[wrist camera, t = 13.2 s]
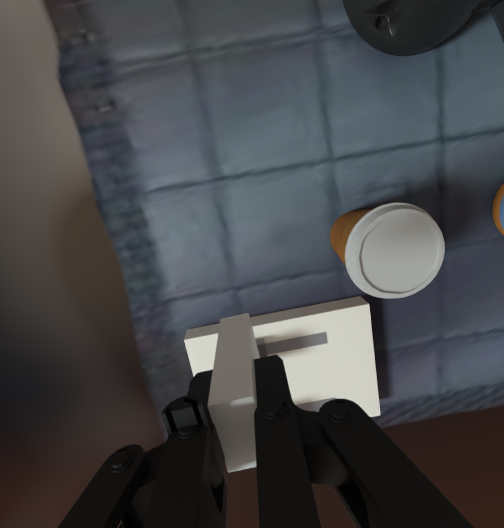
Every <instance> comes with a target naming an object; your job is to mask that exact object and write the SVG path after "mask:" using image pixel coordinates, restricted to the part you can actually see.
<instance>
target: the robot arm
mask: <svg viewBox="0 0 504 528" xmlns="http://www.w3.org/2000/svg"><path fill="white" fill-rule="evenodd" d="M480 1H481V0H343V3H344V6H345V10H346V13H347V15H348V17H349V20H350V22H351V24H352V25H353V27H354V28H355V30H356V31H357V33H358V34H359V35H360V36H361V37H362V38H363V39H364V40H365V41H366V42H367V43H368V44H369V45H371V46H372V47H374V48H375V49H377V50H379V51H381V52H384V53H387V54H391V55H397V56H410V55H415V54H419V53H422V52H425V51H427V50H430V49H432V48H433V47H435V46H437V45H438V44H440V43H441V42H443V41H444V40H445V39H447V38H448V37H450V36H451V35H453V34H454V33H455V32H456V31H457V30H458V29H459V28H460V27H462V26H463V24H464V23H465V22H466V21H467V20H468V19H469V18H470V16H471V15H472V14H473V12H474V11H475V9H476V8H477V6H478V5H479V3H480ZM487 2H488V4H489V7H490V10H491V13H492V15H493V18H494V20H495V23H496V25H497V27H498V30H499V32H500V35H501V37H502V40H503V42H504V0H487ZM188 390H189V391H188V393H187V396H183V397H180V398H177V399H175V400H174V401H172V402H170V403H169V404H168V405H167V406H166V407H165V408H164V410H163V412H162V413H161V415H162V417H163V420H164V423H165V426H166V429H167V431H168V434H169V435H168V439H167V441H166V442H165V443H163V444H161V445H159V446H157V447H155V448H153V449H151V450H149V451H147V452H144V449H143V448H142V447H141V446H140V445H135V444H133V445H127V446H125V447H123V448H120V449H118V450H117V451H115V452H114V453H113V454H111V455H110V456H109V457H108V459H107V460H106V461H105V462H104V463H103V465H102V466H101V467H100V469H99V470H98V472H97V473H96V474H95V476H94V477H93V479H92V480H91V481H90V483H89V484H88V486H87V487H86V488H85V490H84V491H83V493H82V494H81V495H80V497H79V498H78V500H77V501H76V502H75V504H74V505H73V506H72V508H71V509H70V511H69V512H68V514H67V515H66V516H65V518H64V519H63V521H62V522H61V523H60V525H59V526H58V527H57V528H117V526H118V525H119V523H120V522H121V524H120V526H119V528H226V517H227V492H228V491H227V490H228V487H227V481H226V478H225V475H224V465H225V464H226V467H227V470H228V472H233V471H238V470H243V469H247V468H252V467H256V468H257V487H258V508H259V525H260V528H321V524H320V520H319V515H318V511H317V506H316V502H315V498H314V493H313V489H312V484H311V483H316V484H324V485H333V487H334V490H335V492H336V493H337V495H338V497H339V499H340V500H341V502H342V503H343V505H344V507H345V509H346V510H347V512H348V514H349V515H350V517H351V519H352V521H353V522H354V524H355V526H356V527H357V528H474V527H473V526H472V525H471V524H470V523H469V522H468V521H467V520H466V519H465V518H464V516H463V515H462V514H461V513H460V512H459V511H458V510H457V509H456V508H455V507H454V506H453V505H452V504H451V503H450V501H448V500H447V498H446V497H445V496H444V495H443V494H442V493H441V492H440V491H439V490H438V489H437V488H436V487H435V486H434V485H433V483H431V481H430V480H429V479H428V478H427V477H426V476H425V475H424V474H423V473H422V472H421V471H420V470H419V469H418V468H417V466H416V465H415V464H414V463H413V462H412V461H411V460H410V459H409V458H408V457H407V456H406V455H405V454H404V453H403V452H402V451H401V449H400V448H399V447H398V446H397V445H396V444H395V443H394V442H393V441H392V440H391V439H390V438H389V437H388V436H387V435H386V434H385V432H384V431H383V430H382V429H381V428H380V427H379V426H378V425H377V424H376V423H375V422H374V421H373V420H372V419H371V418H370V417H369V415H368V414H367V413H366V412H365V411H364V410H363V409H362V408H361V407H360V406H359V405H358V404H356V403H355V402H354V401H351V400H348V399H333V400H329V401H328V402H326V403H324V404H323V405H322V406H321V408H320V409H319V412H317V411H306V410H303V409H301V408H299V407H297V406H296V405H295V404H294V403H293V400H292V398H291V393H290V389H289V385H288V380H287V376H286V372H285V367H284V363H283V360H282V359H281V358H280V357H279V356H278V355H277V354H276V355H271V356H267V357H262V358H260V356H259V352H258V348H257V344H256V340H255V336H254V332H253V328H252V324H251V320H250V316H249V313H246V314H241V315H237V316H232V317H228V318H223V319H220V325H219V332H218V339H217V346H216V352H215V359H214V366H213V369H212V370H208V371H203V372H199V373H197V374H196V375H195V376H194V377H193V379H192V380H191V381H190V385H189V389H188Z"/></svg>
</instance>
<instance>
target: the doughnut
mask: <svg viewBox="0 0 504 528" xmlns="http://www.w3.org/2000/svg"><path fill="white" fill-rule="evenodd" d="M492 216H493V220H494V223H495V225H496V227H497V228H498V230H499V231H500V232H501V234H502V235H504V182H503V184H502V185H501V186H500V188H499V189H498V191H497V193H496V196H495V198H494V201H493V208H492Z"/></svg>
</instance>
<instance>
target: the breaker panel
mask: <svg viewBox="0 0 504 528" xmlns="http://www.w3.org/2000/svg"><path fill="white" fill-rule="evenodd" d="M250 320H251V324H252V328H253V332H254V336H255V340H258V339H263V338H264V341H265V346H266V351H267V356H271V355H276V354H277V355H278V356H279V357H280V358H281V359H282V360H283V363H284V367H285V372H286V376H287V380H288V385H289V389H290V393H291V398H292V400H293V403H294V404H295V405H296V406H297V407H299V408H301V409H303V410H306V411H317V412H319V409H320V408H321V406H322V405H323V404H324V403H326V402H328V401H329V400H333V399H348V400H351V401H354V402H355V403H356V404H358V405H359V406H360V407H361V408H362V409H363V410H364V411H365V412H366V413H367V414H368V415H369V417H373V416H379V415H380V406H379V396H378V386H377V376H376V366H375V356H374V346H373V337H372V327H371V317H370V307H369V303H368V302H367V301H365V300H364V299H363V298H362V297H361V296H357V297H352V298H347V299H342V300H336V301H331V302H326V303H321V304H316V305H311V306H306V307H301V308H295V309H290V310H285V311H280V312H275V313H270V314H265V315H259V316H254V317H250ZM219 325H220V323H218V324H213V325H208V326H203V327H198V328H193V329H188V330H187V333H186V336H185V339H184V341H185V345H186V349H187V353H188V357H189V360H190V364H191V368H192V372H193V375H194V376H195V375H196V374H197V373H199V372H203V371H208V370H212V369H213V366H214V359H215V352H216V346H217V339H218V332H219Z"/></svg>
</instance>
